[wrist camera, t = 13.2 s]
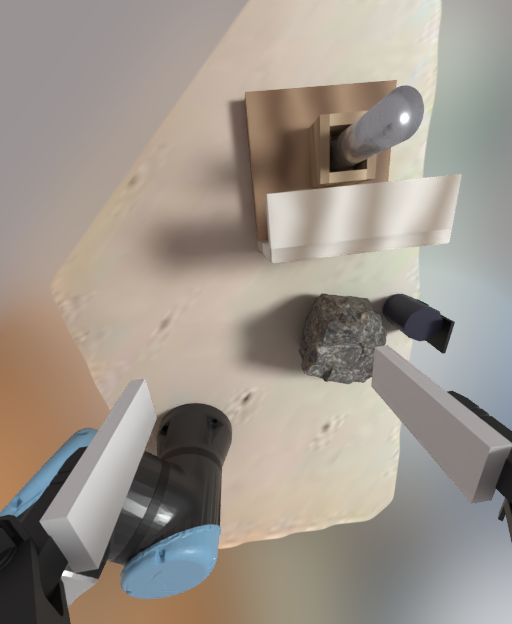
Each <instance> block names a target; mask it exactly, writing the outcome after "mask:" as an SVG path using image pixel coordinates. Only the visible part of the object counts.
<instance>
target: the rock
mask: <svg viewBox="0 0 512 624" xmlns="http://www.w3.org/2000/svg"><path fill="white" fill-rule="evenodd" d="M386 335H387V334H386V327H385V326H382V319H381V316H380V314H378V313H376V312H374V311H373V309H372V307H371V305H370V300H368V299H367V298H359V297H352V296H347V297H343V296H337V295H328V294H321V296H320V297H319V298H318V299H317V301H316V302H315V304H314V305H313V309H312V312H311V314H310V315H309V317H308V318H307V320H306V324H305V328H304V332H303V338H302V339H303V343H302V345H301V349H300V350H299V353H300V355H301V357H302V365H301V366H302V370H303V371H304V373H305V374H306V375H310V376H316V377H320V378H323V380H324V381H326V382H328V381H334V382H339V383H344V384H350V383H352V382H362V383H364V382H365V381H366V380H367V379H369V378H370V377H372V374H373V362H374V351H375V347H379V346H385V344H386Z"/></svg>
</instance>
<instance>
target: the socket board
mask: <svg viewBox="0 0 512 624" xmlns="http://www.w3.org/2000/svg"><path fill="white" fill-rule="evenodd" d="M396 82H397V80H392V81H379V82H367V83H354V84H342V85H330V86H317V87H305V88H292V89H280V90H267V91H255V92H245V110H246V121H247V131H248V142H249V153H250V163H251V174H252V185H253V195H254V206H255V216H256V227H257V238H258V248H259V252H260V253H262V254H263V255H264V256H265V257H266V258H267V259H268V260H269V261H270V262H271V263H281V262H289V261H298V260H306V259H315V258H323V257H332V256H341V255H349V254H358V253H366V252H375V251H383V250H392V249H400V248H409V247H417V246H426V245H434V244H443V243H449V241H450V236H451V230H452V225H453V219H454V214H455V208H456V203H457V197H458V192H459V186H460V181H461V174H459V175H448V176H439V177H429V178H419V179H409V180H400V181H390V182H388V176H389V164H390V152H391V147H390V148H388V149H386V150H384V151H382V152H380V153H378V154H376V155H374V156H372V157H370V158H368V159H365V160H363V161H361V162H359V163H357V164H355V165H353V166H351V167H349V168H347V169H345V170H343V171H341V172H329V162H330V142H331V141H332V140H334V139H335V138H336V137H337V136H338V135H340V134H341V133H342V132H343V131H344V130H346V129H347V128H348V127H349V126H350V125H352V124H353V123H354V122H355V121H356V120H358V119H359V118H360V117H361V116H362V115H364V114H365V113H366V112H367V111H368V110H370V109H371V108H372V107H373V106H375V105H376V104H377V103H378V102H379V101H381V100H382V99H383V98H384V97H385V96H387V95H388V94H389V93H390V92H391V91H393V90H394V89H396Z"/></svg>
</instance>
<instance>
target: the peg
mask: <svg viewBox="0 0 512 624" xmlns="http://www.w3.org/2000/svg"><path fill="white" fill-rule="evenodd" d="M423 113H424V104H423V100H422V97H421V95H420V93H419V92H418V91H417V90H416V89H415V88H413V87H411V86H400V87H398V88H396V89H394V90H393V91H391V92H390V93H389V94H388V95H387V96H385V97H384V98H383V99H382V100H381V101H379V102H378V103H377V104H376V105H375V106H373V107H372V108H371V109H370V110H368V111H367V112H366V113H365V114H364V115H362V116H361V117H360V118H359V119H358V120H356V121H355V122H354V123H353V124H352V125H350V126H349V127H348V128H347V129H346V130H344V131H343V132H342V133H341V134H340V135H338V136H337V137H336V138H335V139H334V140H332V141H331V142H330V162H329V172H341V171H343V170H345V169H347V168H349V167H351V166H353V165H355V164H357V163H359V162H361V161H363V160H365V159H368V158H370V157H372V156H374V155H376V154H378V153H380V152H382V151H384V150H386V149H388V148H390V147H392V146H395V145H397V144H399V143H401V142H403V141H405V140H407V139H409V138H410V137H411V136H412V135H413V134H414V133H415V132H416V131H417V129H418V128H419V126H420V124H421V121H422V118H423Z"/></svg>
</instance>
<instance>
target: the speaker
mask: <svg viewBox="0 0 512 624" xmlns="http://www.w3.org/2000/svg"><path fill="white" fill-rule="evenodd" d="M383 314H384V315H385V317H386V319H387V320H388V321H389V322H391V323H392V324H393V325H394V326H395V327H397V328H398V329H399V330H400V331H402V332H403V333H404V334H405V335H407V336H408V337H409V338H412V339H415V340H418V341H424V340H426V341H427V342H428V343H430V344H431V345H432V346H434V347H435V348H436V349H437V350H439V351H440V352H441V353H445V352H446V349H447V345H448V342H449V339H450V335H451V333H452V329H453V326H454V322H453V321H452V320H450V319H447V318H446V317H444V316H442V315H440V312H439V311H437V310H435V309H433V308H432V307H429V305H428V304H426V303H424V302H422V301H420V300H418V299H417V300H416V299H414V298H412V297H410V296H407V295H404V294H397V295H395V296H393V297H392V298H390V299H388V300H387V302H386V304H385V305H384V307H383Z"/></svg>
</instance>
